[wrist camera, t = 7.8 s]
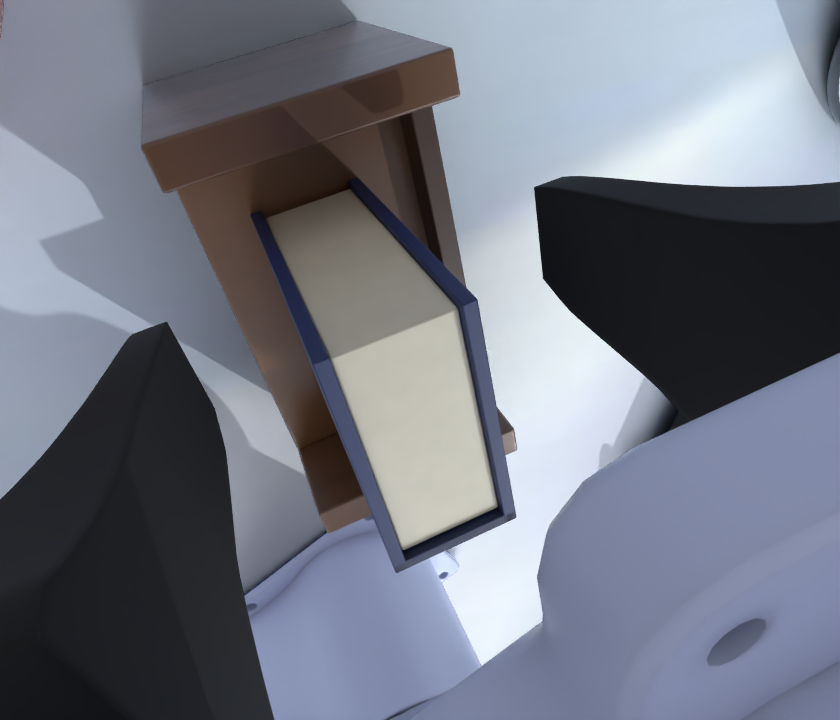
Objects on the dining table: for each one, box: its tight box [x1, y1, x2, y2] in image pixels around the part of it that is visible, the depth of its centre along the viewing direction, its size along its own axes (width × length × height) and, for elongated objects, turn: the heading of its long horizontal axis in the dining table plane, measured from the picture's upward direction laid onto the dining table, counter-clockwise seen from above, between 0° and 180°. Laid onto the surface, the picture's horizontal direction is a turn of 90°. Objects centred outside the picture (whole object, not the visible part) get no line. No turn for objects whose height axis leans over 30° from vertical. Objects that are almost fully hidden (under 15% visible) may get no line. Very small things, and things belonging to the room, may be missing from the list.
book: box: [250, 177, 516, 573], centre depth 15 cm, size 3×6×8 cm, turn 13°
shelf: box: [141, 21, 517, 533], centre depth 18 cm, size 6×12×7 cm, turn 13°
